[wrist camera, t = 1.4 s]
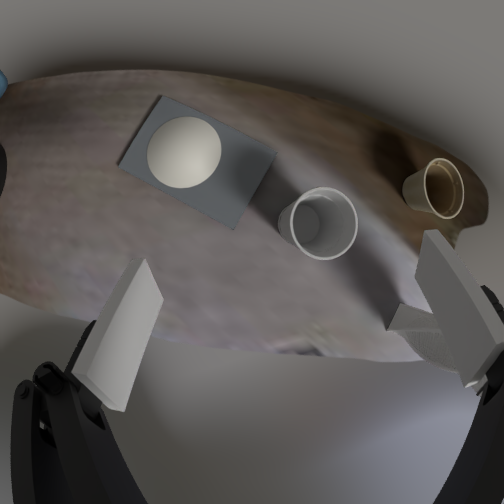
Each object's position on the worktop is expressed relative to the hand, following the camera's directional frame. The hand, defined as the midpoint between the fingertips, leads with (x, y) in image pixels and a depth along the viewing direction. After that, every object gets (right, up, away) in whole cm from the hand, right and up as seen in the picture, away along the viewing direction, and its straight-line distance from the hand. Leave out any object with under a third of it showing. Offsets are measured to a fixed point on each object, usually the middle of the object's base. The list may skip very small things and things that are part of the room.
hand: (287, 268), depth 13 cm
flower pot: (+27, +11, +31) cm, 43 cm away
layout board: (-10, +14, +27) cm, 32 cm away
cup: (+5, +5, +30) cm, 31 cm away
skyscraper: (+26, -12, +33) cm, 43 cm away
